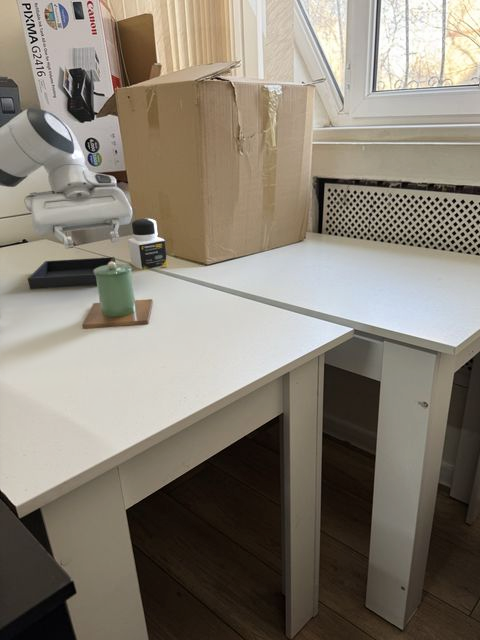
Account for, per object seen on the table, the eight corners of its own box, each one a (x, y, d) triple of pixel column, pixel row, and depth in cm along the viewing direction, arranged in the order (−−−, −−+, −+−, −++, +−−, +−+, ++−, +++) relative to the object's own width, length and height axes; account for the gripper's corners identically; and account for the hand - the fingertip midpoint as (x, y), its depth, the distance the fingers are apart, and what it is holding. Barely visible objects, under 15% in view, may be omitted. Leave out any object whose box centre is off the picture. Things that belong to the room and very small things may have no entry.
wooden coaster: (82, 328, 94) (82, 324, 94) (94, 306, 105) (93, 303, 105) (148, 323, 96) (147, 320, 95) (152, 302, 106) (152, 299, 106)
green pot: (98, 318, 97) (88, 267, 92) (103, 306, 103) (95, 257, 99) (135, 316, 97) (127, 265, 93) (139, 303, 104) (132, 255, 99)
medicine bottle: (142, 271, 128) (136, 223, 123) (131, 266, 133) (124, 219, 128) (168, 266, 131) (162, 219, 126) (156, 261, 137) (150, 215, 132)
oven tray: (30, 291, 116) (27, 278, 114) (47, 272, 129) (45, 261, 128) (107, 286, 117) (105, 273, 116) (116, 268, 131) (114, 256, 130)
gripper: (21, 183, 101) (39, 241, 98) (121, 176, 111) (142, 228, 107) (22, 203, 106) (40, 259, 103) (118, 194, 116) (137, 245, 112)
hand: (93, 243), depth 105 cm, fingers open, 8 cm apart
